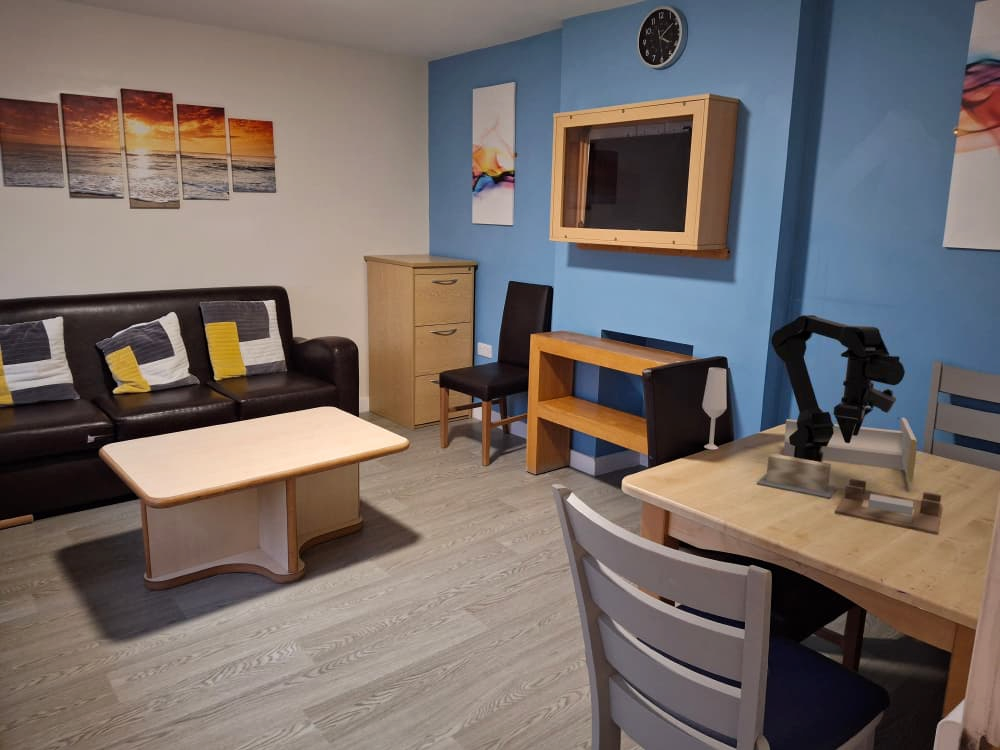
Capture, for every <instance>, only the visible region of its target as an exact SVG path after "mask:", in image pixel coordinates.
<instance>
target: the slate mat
mask: <svg viewBox="0 0 1000 750" xmlns="http://www.w3.org/2000/svg"><path fill="white" fill-rule="evenodd" d="M766 476H767V473H765V474H764V475H763V476H762V477H761V478H760V479H759V480H758V481H757V482H756V485H757V486H758V485H759V486H762V487H763V486H764V487H768V488H774V489H779V490H783V491H788V492H793V493H799V494H803V495H804V494H805V495H809V496H814V497H818V498H823V499H828V500H830V499H831V498H832V496H833V495H834V493H835V492H836V490H837V487H836V486H832V485H828V490H827V491H826V493H825V492H820V491H815V490H810V489H805V488H800V487H795V486H790V485H785V484H780V483H774V482H769V481H766Z"/></svg>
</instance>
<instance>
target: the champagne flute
mask: <svg viewBox="0 0 1000 750" xmlns="http://www.w3.org/2000/svg"><path fill="white" fill-rule="evenodd" d="M701 406H702V409H703V411H704V412H705V413H706V414H707V415H708V417H709V418H711V419H710V428H709V429H710V431H709V440H708V441H709V443H707V444H705V445H704V446H703V447H704V448H705V449H708V450H717V449H719V447H718V446H717V445H716V444H714V443H715V442H714V439H715V429H716V428H715V427H716V419H717V418H719V417H720V416H721V415H723V414H724V413H725V412H726V410H727V369H726V368H722V367H709V368H708V373H707V378H706V384H705V389H704V395H703V399H702V405H701Z"/></svg>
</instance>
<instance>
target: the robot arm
mask: <svg viewBox="0 0 1000 750" xmlns="http://www.w3.org/2000/svg"><path fill="white" fill-rule="evenodd" d="M814 334H816V335H819V336H821V337H825V338H829V339H832V340H836V341H837V342H839V343H840V344H841V345H842V346H843V347H845V348H846V349H847V350H845V351H844V352H842V353H841V354H840V357H841V358H846V359H847V363H846V372H845V378H844V379H845V380H844V381H843V383H842V385H843V386H844V387H843V388H844V389H843V396H842V397H841V400H840V403H838V404H837V405H835V406H833V412H832V413H833V416H834V419H835V420H836V423H837V424H838V425H839V427H840V430H841V433H842V436H843V439H844V441H845V443H850V441H851V438H852V435H854V436H857V435H858V433H859V430H860V428H861V427H862V424H863V422H864V420H865V417H866V416H867V415H868V414H870V413H871V412H873V410H874V408H875V407H876V408H877V409H879V410H880V411H882V412H884V413H886V414H887V413H889V412H890V411H891V409H892V408H893V406H894V405H895V403H896V401H897V398H896V397H895V396H894V390H892V389H889V388H886V389H884V390H878V389H876V388H874V386H875V385H874V384H875V383H874V382H877V383H881V384H885V385H890V386H897V385H899V384H900V383H901V382H902V381H903V379H904V377H905V372H906V370H905V369H904V365H903V363H902V362H900V356H897V355H890V353H889V350H888V348H887V346H886V344H885V342H884V340H883V337H882V335H881V332H880V329H879V328H878V327H876V326H868V325H867V326H866V325H848V324H844V323H840V322H836V321H833V320H830V319H826V318H821V317H818V316H817V315H813V314H809V315H805V314H804V315H803V314H802V315H799V316H798V317H797V318H795V319H794V320H793V321H791V322H789V323H787V324H785V325H783V326H781V327H780V328H779V329H776V330H775V331H774V333H773V334H772V337H771V338H770V340H771V345H772V347H773V350H774V352H775V354H776V355H777V356H778V358H780V359H781V361H783V362H784V364H785V368H786V371H787V372H786V373H787V375H788V377H789V381H790V385H791V388H792V391H793V394H794V395H793V396H794V397H795V398H794V399H795V402H796V405H797V409H798V416H797V419H796V420H797V429H798V430H796V431H795V432H794V433H793V434H792V435H790V436H789V441H790V445H793V446H795V449H794V456H793V457H795V458H800V459H806V460H812V461H817V462H823V461H824V460H823V452H821V450H822V447H827V445H828V443H829V441H830V439H831V438H832V435H833V434H834V430H833V427H834V424H835V423H833V421H832V417H831V414H830V412H829V411H823V410H822V409H821V408H820V407H819V404H818V399H817V397H816V393H815V390H814V388H813V384H812V381H811V377H810V374H809V370H808V367H807V365H806V361H805V354H806V352H807V343H806V342H807V341H809V340H810V339H811V338H812V336H813V335H814ZM868 406H869V407H868ZM823 463H824V462H823Z"/></svg>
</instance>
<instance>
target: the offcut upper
mask: <svg viewBox="0 0 1000 750" xmlns="http://www.w3.org/2000/svg"><path fill="white" fill-rule="evenodd" d="M869 508H875V509H880V510H886V511H892V512H897V513H903V514H908V515H912V511H913V501H909V500H903V499H897V498H891V497H886V496H880V495H874V494H870V500H869Z"/></svg>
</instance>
